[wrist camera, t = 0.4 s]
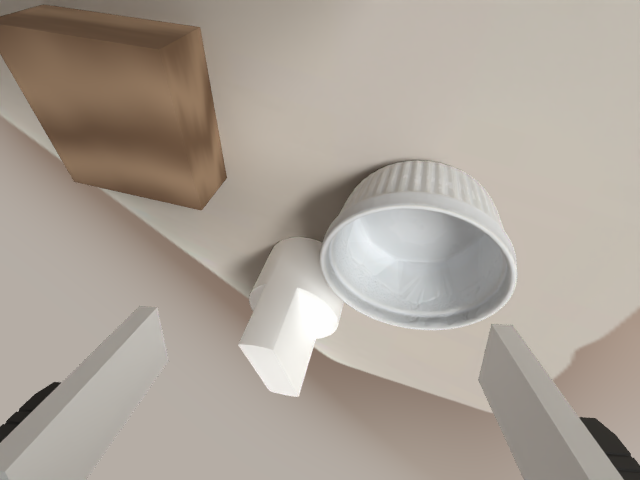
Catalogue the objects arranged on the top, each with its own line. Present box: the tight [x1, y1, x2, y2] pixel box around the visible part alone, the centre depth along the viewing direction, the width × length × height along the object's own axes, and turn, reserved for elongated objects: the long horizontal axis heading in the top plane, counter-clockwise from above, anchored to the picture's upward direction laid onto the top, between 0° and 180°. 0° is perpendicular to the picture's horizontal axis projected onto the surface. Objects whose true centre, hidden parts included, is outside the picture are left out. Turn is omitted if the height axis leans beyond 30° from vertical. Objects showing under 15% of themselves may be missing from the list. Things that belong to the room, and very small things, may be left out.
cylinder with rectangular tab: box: [238, 237, 344, 397], centre depth 33 cm, size 9×9×12 cm
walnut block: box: [0, 4, 227, 210], centre depth 26 cm, size 12×12×5 cm
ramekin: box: [320, 160, 517, 330], centre depth 26 cm, size 13×13×7 cm
